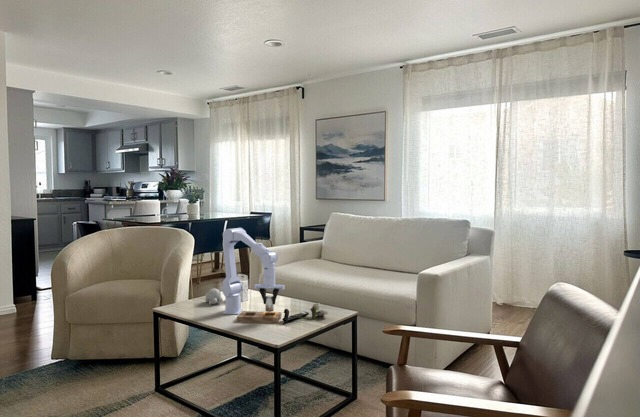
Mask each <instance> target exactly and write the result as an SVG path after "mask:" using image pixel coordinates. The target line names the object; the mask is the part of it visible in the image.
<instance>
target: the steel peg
mask: <svg viewBox="0 0 640 417" xmlns="http://www.w3.org/2000/svg"><path fill="white" fill-rule="evenodd" d="M264 305H265V310H264V312H275V311H274V308H275V307H274V305H275V304H273V295H266V296H265V304H264Z"/></svg>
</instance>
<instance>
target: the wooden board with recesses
mask: <svg viewBox="0 0 640 417" xmlns="http://www.w3.org/2000/svg"><path fill="white" fill-rule="evenodd" d="M281 319H282V312H278V311H277V312H276V311H272V312H267V311H249V310H248V311H247V310H246V311H245V310H242V311H241V312H240V313H239V314H237V316H236V323H256V324H257V323H258V324H259V323H260V324H261V323H262V324H263V323H264V324H278V323H279V322H280V320H281Z"/></svg>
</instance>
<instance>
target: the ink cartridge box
mask: <svg viewBox="0 0 640 417" xmlns="http://www.w3.org/2000/svg"><path fill="white" fill-rule="evenodd" d="M237 277H239V278H240V281H241V284H242V287H243V289H242V291H241V292H240V297H241V303H244V302H246V301H249V278H248V277H249V276H248V274H247V275H246V274H243V273H237ZM232 283H233V282H232Z"/></svg>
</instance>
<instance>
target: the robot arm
mask: <svg viewBox="0 0 640 417" xmlns="http://www.w3.org/2000/svg"><path fill="white" fill-rule="evenodd" d="M222 239H223V240H222V250H223V261H224V271H225V278H224V279H223V281H222V287H221V292H222V294H223V295H224V298H225V299H224V301H225V305H224V306H225V309H224V311H223V312H222V314H223V315H239V314H240V313H241V312H242V311H244V310H243V308H242V302H241V297H240V292H241V291H242V289H243V287H242V284H241V281H240V278H239V277H237V274H238V273H237V265H236V256H235V255H236V254H235V247H234V246H235V245H237V243H238V242H240V241H241V242H242V243H244V244H245V245H247V246H248V247H250V248H251V250H252V253H254V254H255V255H256V256H257V257H259V259H260V260H261V263H262V267H263V283H262V284H257V283H256V284H254V290H259V294H260V296H261V299H262V302H263V305H265V296H267V290H272V296H273V304H274V305H275V304H276V300H277V296H278V294H279V292H280V290H282V291H284V290H285V284H276V262H277V261H278V258H279V257H278V254H277V253H276V251H275V250H270V249H269V248H267V247H266V246H265V245H264V244H263V242H256V240H254V239H253V238H252V237H251V236H250V235H249V234H247V231H246V230H245V229H244V228H243V227H237V228H235V227H233V228H227V229H225V230H224V231H223V232H222ZM232 282H233V283H232Z"/></svg>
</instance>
